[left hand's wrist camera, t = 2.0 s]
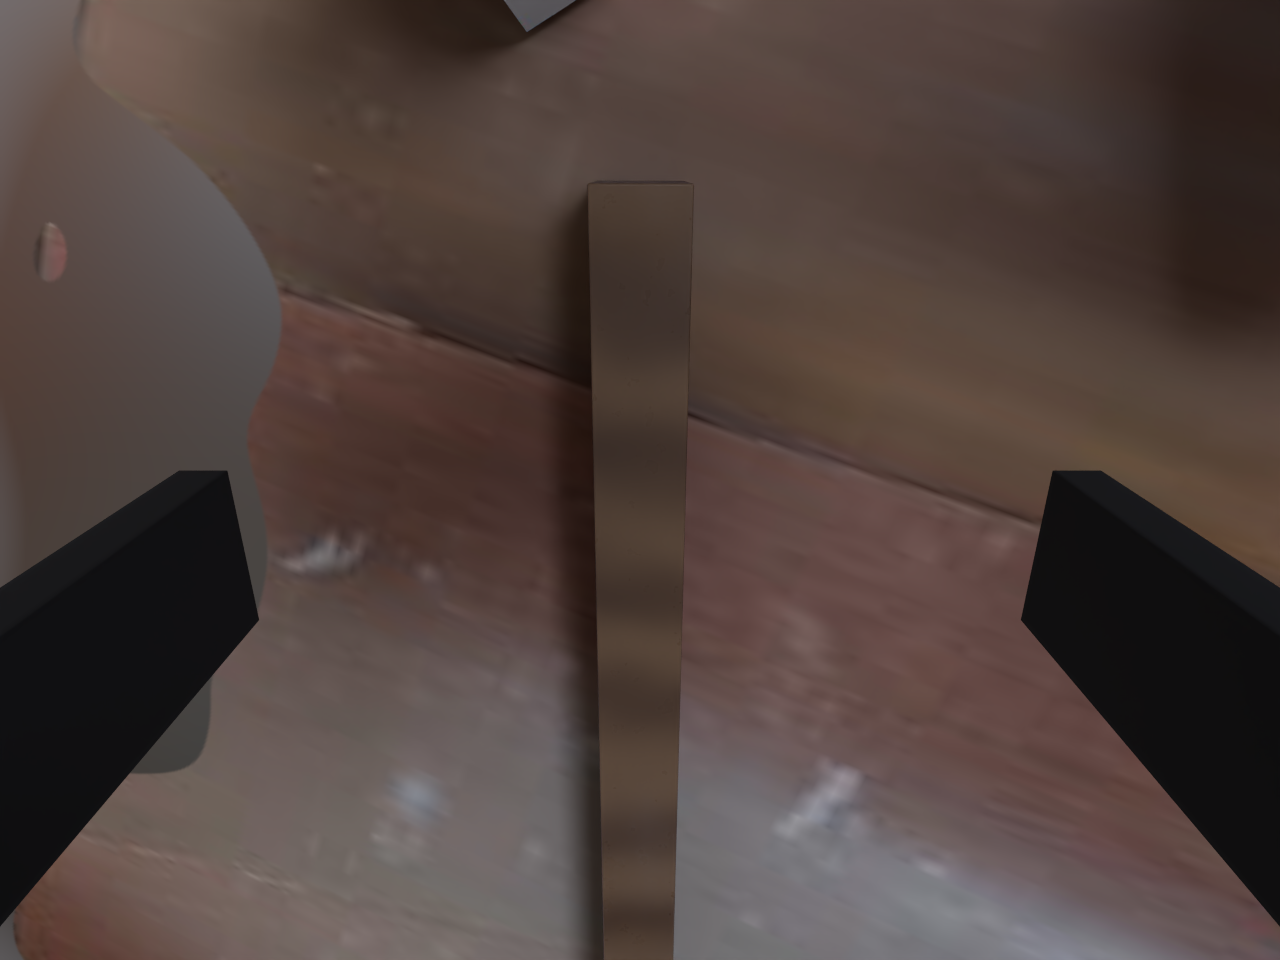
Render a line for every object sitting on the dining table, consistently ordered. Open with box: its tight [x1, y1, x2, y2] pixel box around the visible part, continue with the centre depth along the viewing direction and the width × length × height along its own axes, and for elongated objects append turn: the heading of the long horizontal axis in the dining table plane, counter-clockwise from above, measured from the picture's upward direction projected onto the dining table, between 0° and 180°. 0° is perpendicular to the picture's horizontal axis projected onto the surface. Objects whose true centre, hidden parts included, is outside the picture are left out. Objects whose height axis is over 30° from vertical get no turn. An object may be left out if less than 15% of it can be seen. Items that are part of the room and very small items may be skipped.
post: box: [587, 181, 694, 960], centre depth 55 cm, size 80×5×8 cm, turn 0°
